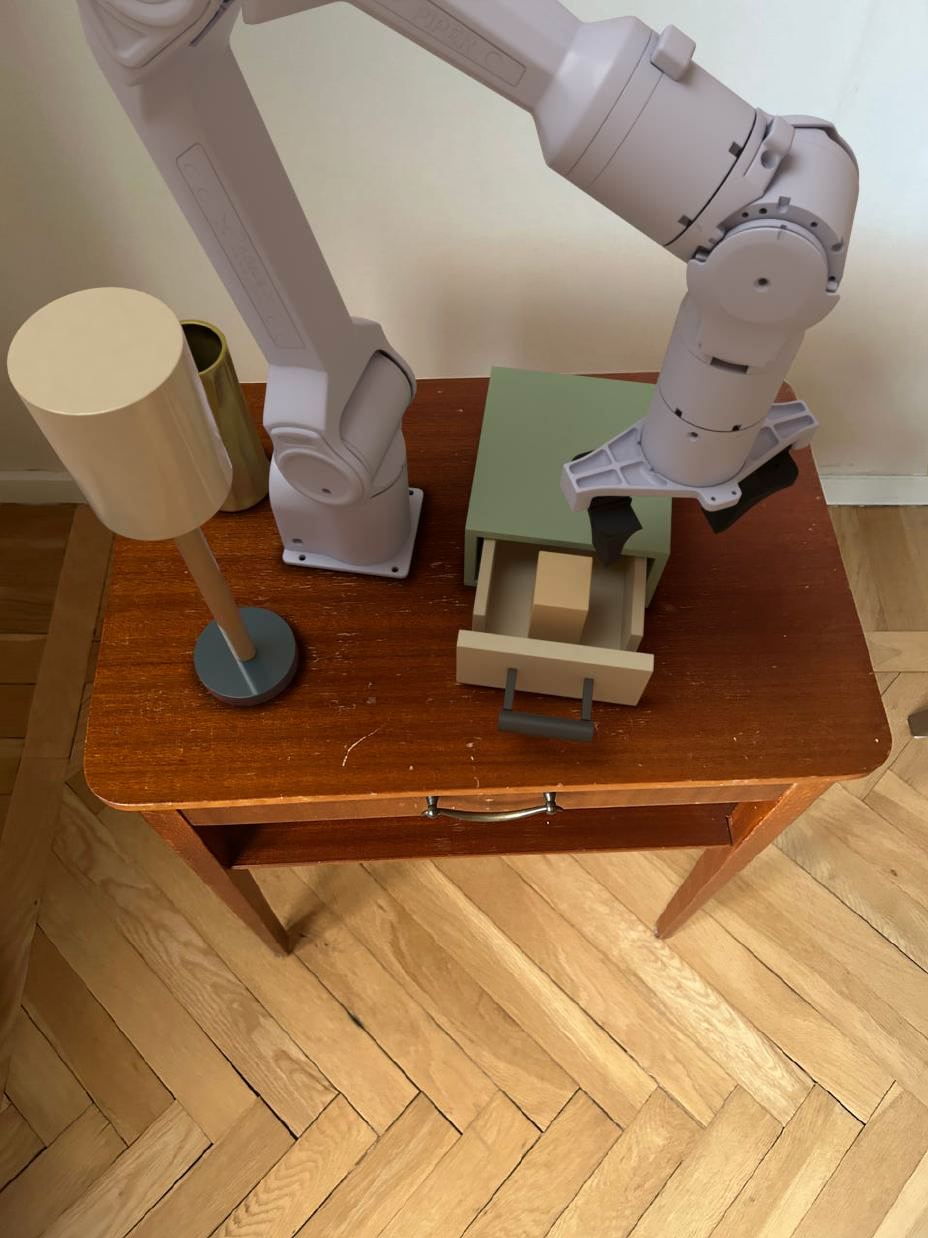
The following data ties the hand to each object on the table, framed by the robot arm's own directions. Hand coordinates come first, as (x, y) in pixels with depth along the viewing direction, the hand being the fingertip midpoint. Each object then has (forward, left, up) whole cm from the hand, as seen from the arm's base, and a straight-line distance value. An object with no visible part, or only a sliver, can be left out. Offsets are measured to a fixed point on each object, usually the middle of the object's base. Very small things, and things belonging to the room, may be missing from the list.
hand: (658, 536), depth 56 cm
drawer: (-6, -3, -9) cm, 11 cm away
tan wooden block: (-6, -3, -8) cm, 10 cm away
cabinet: (-6, +7, -10) cm, 13 cm away
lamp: (-27, -8, -10) cm, 29 cm away
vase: (-32, +7, -10) cm, 34 cm away
